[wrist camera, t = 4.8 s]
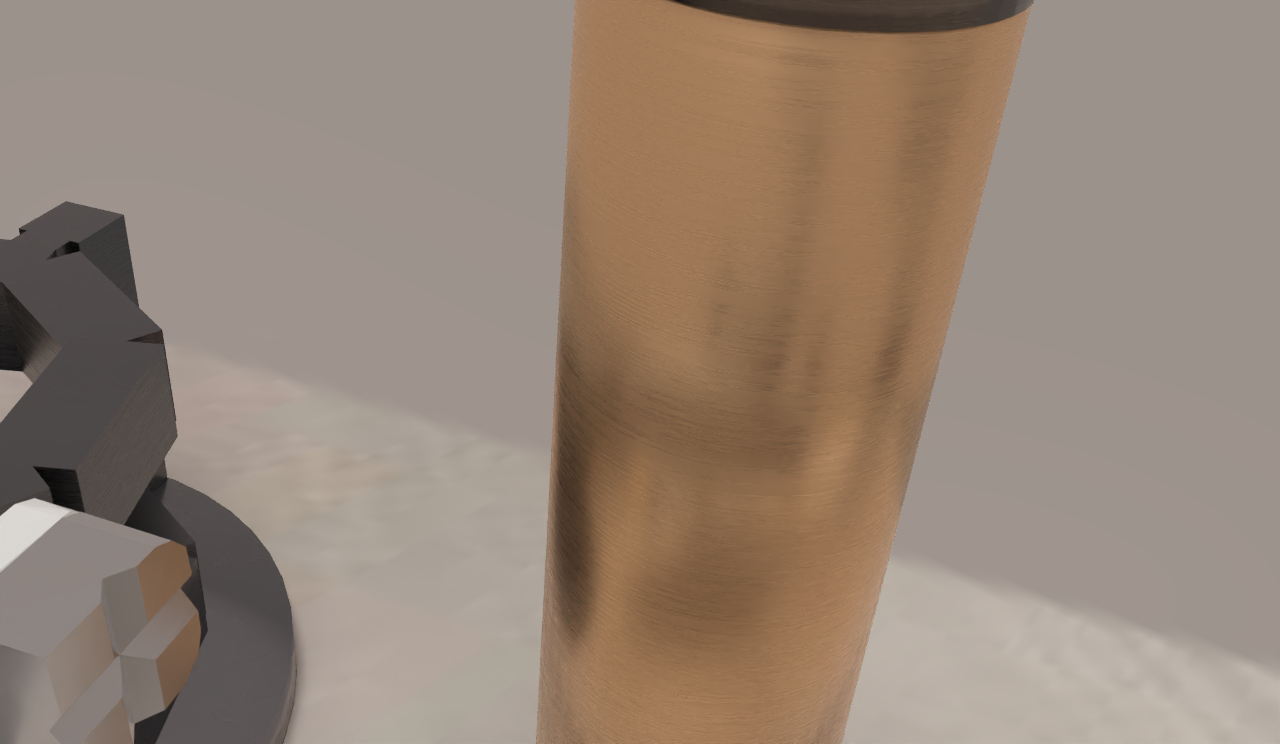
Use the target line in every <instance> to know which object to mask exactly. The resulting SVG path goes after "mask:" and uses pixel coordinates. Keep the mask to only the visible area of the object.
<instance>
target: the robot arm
mask: <svg viewBox="0 0 1280 744" xmlns="http://www.w3.org/2000/svg"><path fill="white" fill-rule="evenodd" d="M191 575H192V572H191V567H190V563H189V559H188V554H187V550H186V547H185V546H183V545H181V544H178V543H176V542H174V541H172V540H168V539H165V538H162V537H159V536H156V535H153V534H149V533H146V532H143V531H140V530H137V529H134V528H130V527H127V526H124V525H121V524H118V523H115V522H112V521H108V520H105V519H102V518H99V517H96V516H93V515H89V514H86V513H83V512H78V511H75V510H72V509H68V508H65V507H62V506H59V505H55V504H52V503H49V502H46V501H42V500H39V499H36V498H34V499H30V500H27V501H24V502H20V503H17V504H14V505H13V506H12V507H11V508H9V509H8V510H7V511H6V512H5V513H3V514H2V515H1V516H0V744H134V724H135V723H137V722H139V721H141V720H144V719H146V718H148V717H150V716H152V715H155V714H157V713H159V712H161V711H164V710H165V709H166V708H167V707H168V706H169V704H170V703H171V702H172V701H173V699H174V698H175V697H176V696H177V694H178V693H179V692H180V691H181V689H182V688H183V687H184V685H185V683H186V681H187V679H188V677H189V674H190V672H191V670H192V668H193V665H194V663H195V661H196V659H197V656H198V652H199V644H200V636H201V626H200V620H199V613H198V610H197V609H196V607H195V606H194V605H193V604H192V602H191V601H190V600H189V598H188V597H187V596H186V595H185V593H184V592H183V591H182V590H181V587H182V585H183V584H184V583H185V582H186V581H187V580H188V579H189V577H190V576H191Z"/></svg>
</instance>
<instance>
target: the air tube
mask: <svg viewBox="0 0 1280 744" xmlns="http://www.w3.org/2000/svg"><path fill="white" fill-rule="evenodd" d="M1033 2H1034V0H575V8H574V28H573V46H572V65H571V67H572V68H571V86H570V105H569V124H568V142H567V162H566V181H565V200H564V219H563V238H562V259H561V276H560V297H559V315H558V334H557V353H556V372H555V391H554V410H553V430H552V449H551V468H550V487H549V506H548V525H547V544H546V564H545V583H544V602H543V621H542V640H541V659H540V679H539V698H538V717H537V736H536V744H841V743H842V739H843V735H844V731H845V728H846V724H847V720H848V716H849V712H850V708H851V704H852V700H853V696H854V693H855V689H856V685H857V681H858V677H859V673H860V669H861V665H862V662H863V658H864V654H865V650H866V646H867V642H868V638H869V634H870V630H871V627H872V623H873V619H874V615H875V611H876V607H877V603H878V599H879V595H880V592H881V588H882V584H883V580H884V576H885V572H886V568H887V564H888V561H889V557H890V553H891V549H892V545H893V541H894V537H895V533H896V529H897V526H898V521H899V518H900V514H901V510H902V506H903V502H904V498H905V494H906V490H907V486H908V483H909V479H910V475H911V471H912V467H913V463H914V459H915V456H916V452H917V448H918V444H919V440H920V436H921V432H922V428H923V424H924V421H925V417H926V413H927V409H928V405H929V401H930V397H931V393H932V390H933V386H934V382H935V378H936V374H937V370H938V366H939V362H940V358H941V354H942V350H943V346H944V343H945V339H946V335H947V331H948V327H949V324H950V320H951V316H952V312H953V308H954V304H955V300H956V296H957V292H958V289H959V285H960V280H961V277H962V272H963V269H964V265H965V261H966V257H967V254H968V249H969V245H970V242H971V238H972V234H973V230H974V226H975V222H976V219H977V214H978V211H979V207H980V203H981V199H982V195H983V191H984V187H985V183H986V180H987V176H988V172H989V168H990V164H991V160H992V156H993V152H994V149H995V145H996V141H997V137H998V133H999V129H1000V125H1001V121H1002V118H1003V113H1004V109H1005V106H1006V102H1007V98H1008V94H1009V90H1010V86H1011V83H1012V79H1013V75H1014V71H1015V67H1016V63H1017V59H1018V55H1019V51H1020V47H1021V43H1022V40H1023V36H1024V32H1025V28H1026V24H1027V20H1028V16H1029V13H1030V9H1031V5H1032V4H1033Z"/></svg>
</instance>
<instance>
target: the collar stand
mask: <svg viewBox="0 0 1280 744" xmlns="http://www.w3.org/2000/svg"><path fill="white" fill-rule="evenodd" d="M19 232H20V235H19V236H17V237H15V238H14V239H12V240H4V239H0V369H1V370H12V371H23V372H24V373H25V375H26V376H27V377H28V378H29V379H30V380H31V382H32V383H33V384H32V386H31V387H30V388H29V389H28V390H27V392H26V393H25V394H24V395H23V397H22V398H21V399H20V400H19V401H18V403H17V404H16V405H15V406H14V407H13V409H12V410H11V411H10V412H9V413H8V415H7V416H6V417H5V418H4V420H3V421H2V422H1V423H0V516H1V515H2V514H3V513H5V512H6V511H7V510H8V509H9V508H11V507H12V506H13V505H14V504H17V503H20V502H24V501H27V500H30V499H34V498H36V499H39V500H42V501H46V502H49V503H52V504H55V505H59V506H62V507H65V508H68V509H72V510H75V511H78V512H83V513H86V514H89V515H93V516H96V517H99V518H102V519H105V520H108V521H112V522H115V523H118V524H121V525H124V526H127V527H130V528H134V529H137V530H140V531H143V532H146V533H149V534H153V535H156V536H159V537H162V538H165V539H168V540H172V541H174V542H176V543H178V544H181V545H183V546H185V547H186V550H187V554H188V559H189V563H190V567H191V572H192V575H191V576H190V577H189V579H188V580H187V581H186V582H185V583H184V584H183V585H182V587H181V590H182V591H183V592H184V593H185V595H186V596H187V597H188V598H189V600H190V601H191V602H192V604H193V605H194V606H195V607H196V609H197V610H198V613H199V620H200V626H201V636H200V644H199V652H198V656H197V659H196V661H195V663H194V665H193V668H192V670H191V672H190V674H189V677H188V679H187V681H186V683H185V685H184V687H183V688H182V689H181V691H180V692H179V693H178V694H177V696H176V697H175V698H174V699H173V701H172V702H171V703H170V704H169V706H168V707H167V708H166V709H165V710H164V711H161V712H159V713H157V714H155V715H152V716H150V717H148V718H146V719H144V720H141V721H139V722H137V723H135V724H134V744H282V743H283V741H284V737H285V734H286V730H287V726H288V723H289V719H290V715H291V711H292V708H293V703H294V693H295V683H296V673H297V669H296V657H295V645H294V634H293V624H292V615H291V606H290V603H289V599H288V596H287V592H286V589H285V585H284V582H283V578H282V576H281V574H280V572H279V570H278V568H277V567H276V565H275V563H274V561H273V559H272V557H271V555H270V553H269V552H268V550H267V549H266V548H265V547H264V545H263V544H262V543H261V541H260V540H259V539H258V538H257V536H256V535H255V534H254V533H253V531H252V530H251V529H250V528H249V527H247V526H246V525H245V524H244V523H243V522H242V521H241V520H240V519H239V518H237V517H236V516H235V515H234V514H233V513H232V512H231V511H229V510H228V509H226V508H225V507H223V506H222V505H220V504H219V503H217V502H216V501H214V500H213V499H211V498H210V497H208V496H207V495H205V494H203V493H201V492H199V491H197V490H195V489H193V488H190V487H188V486H186V485H184V484H182V483H180V482H178V481H176V480H173V479H170V478H167V473H166V467H165V461H164V458H165V456H166V455H167V453H168V451H169V450H170V448H171V446H172V445H173V443H174V441H175V440H176V438H177V436H178V435H177V429H176V422H175V421H176V416H175V409H174V403H173V397H172V390H171V384H170V377H169V371H168V365H167V358H166V352H165V345H164V339H163V333H162V329H161V328H159V326H158V325H156V324H155V323H154V322H153V321H152V320H151V319H150V318H149V317H148V316H147V315H146V314H145V313H144V312H143V311H142V310H141V309H140V308H139V304H138V299H137V292H136V286H135V280H134V274H133V268H132V262H131V256H130V250H129V245H128V238H127V232H126V226H125V220H124V215H122V214H118V213H113V212H109V211H105V210H101V209H97V208H92V207H88V206H84V205H79V204H75V203H70V202H64V203H62V204H61V205H59V206H57V207H55V208H54V209H52V210H50V211H48V212H47V213H45V214H43V215H42V216H40V217H38V218H37V219H35V220H33V221H31V222H29V223H28V224H26V225H24V226H22V227H21V228H19Z"/></svg>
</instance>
